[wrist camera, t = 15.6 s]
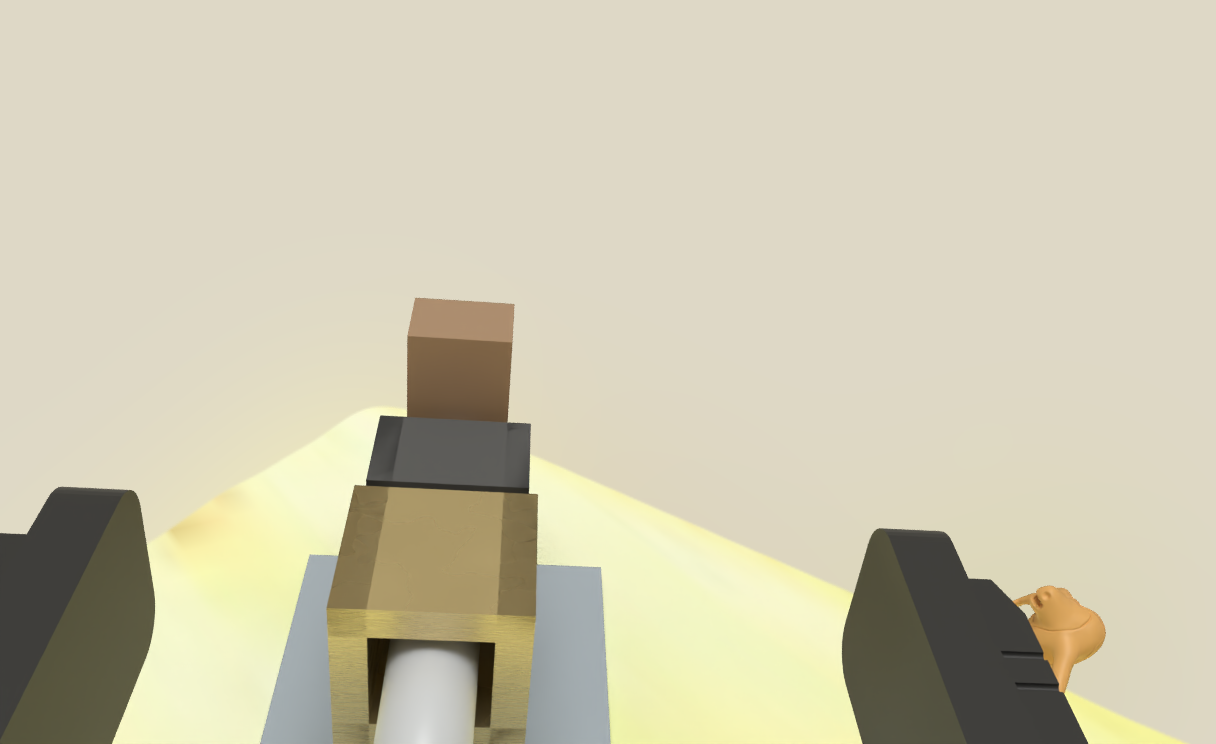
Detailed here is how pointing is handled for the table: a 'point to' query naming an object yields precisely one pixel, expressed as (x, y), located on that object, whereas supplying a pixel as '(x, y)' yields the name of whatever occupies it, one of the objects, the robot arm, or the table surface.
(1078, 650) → the figurine
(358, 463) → the table surface
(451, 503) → the sleeve
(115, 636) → the robot arm
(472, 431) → the dark grey slab
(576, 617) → the pipe rig
